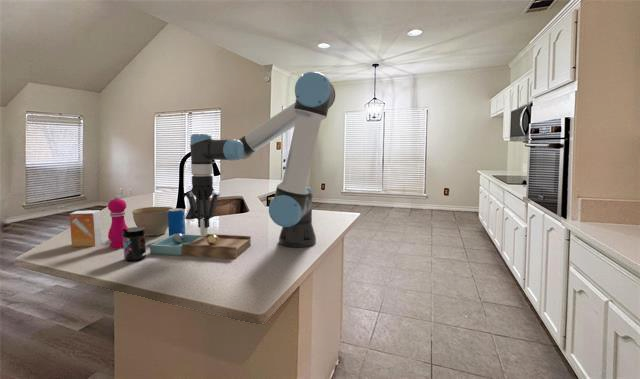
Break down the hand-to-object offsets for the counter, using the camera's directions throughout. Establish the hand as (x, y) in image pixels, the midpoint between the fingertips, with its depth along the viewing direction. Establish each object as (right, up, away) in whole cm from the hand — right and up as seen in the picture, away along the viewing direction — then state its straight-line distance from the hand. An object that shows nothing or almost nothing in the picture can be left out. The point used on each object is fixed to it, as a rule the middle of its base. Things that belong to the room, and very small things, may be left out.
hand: (204, 235), depth 127 cm
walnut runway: (+7, -5, -4) cm, 9 cm away
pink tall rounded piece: (-32, -4, -1) cm, 32 cm away
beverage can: (-16, -3, +13) cm, 21 cm away
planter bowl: (-28, -2, +18) cm, 34 cm away
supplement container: (-18, -6, -15) cm, 24 cm away
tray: (-9, -4, -2) cm, 10 cm away
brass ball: (+6, 0, -9) cm, 11 cm away
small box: (-46, -4, +1) cm, 46 cm away
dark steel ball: (-11, -1, +2) cm, 11 cm away
